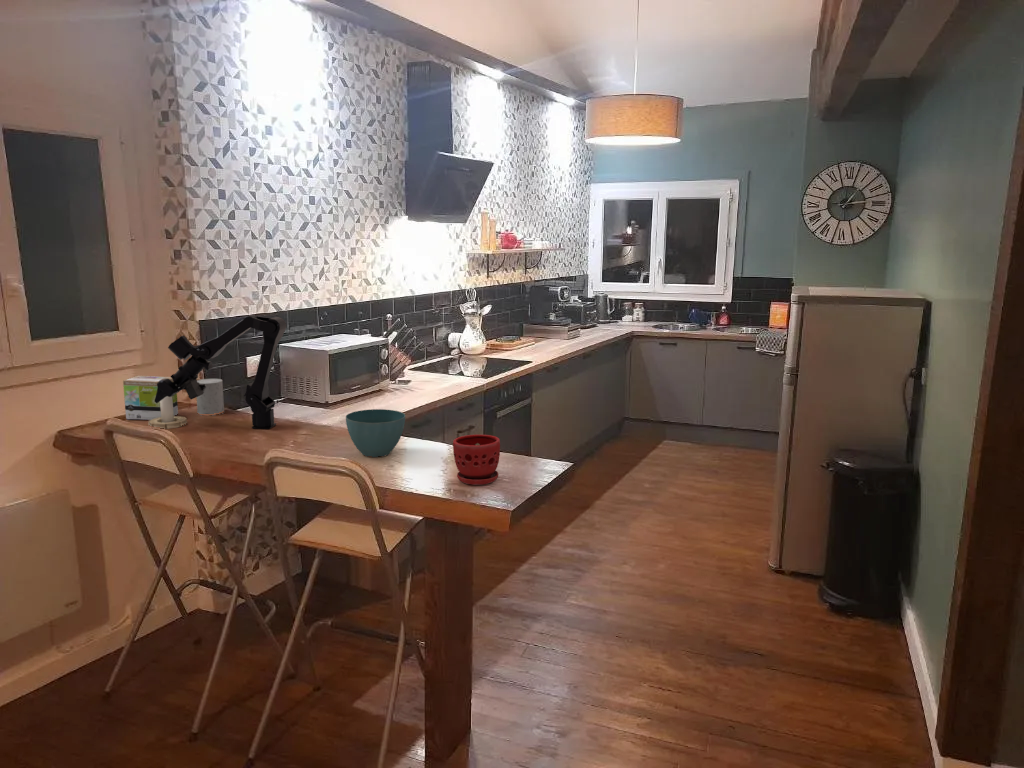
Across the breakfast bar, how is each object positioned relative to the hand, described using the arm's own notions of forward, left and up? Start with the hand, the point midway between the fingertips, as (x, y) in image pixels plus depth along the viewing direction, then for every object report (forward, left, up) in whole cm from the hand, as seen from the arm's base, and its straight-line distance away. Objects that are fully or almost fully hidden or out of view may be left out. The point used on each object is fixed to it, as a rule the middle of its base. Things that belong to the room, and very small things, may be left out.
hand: (162, 399), depth 259 cm
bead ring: (-1, 0, -9) cm, 9 cm away
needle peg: (-1, 0, -9) cm, 9 cm away
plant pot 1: (-83, +26, -9) cm, 87 cm away
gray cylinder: (-8, -19, -9) cm, 23 cm away
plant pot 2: (-117, +48, -9) cm, 127 cm away
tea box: (+10, -10, -9) cm, 16 cm away
